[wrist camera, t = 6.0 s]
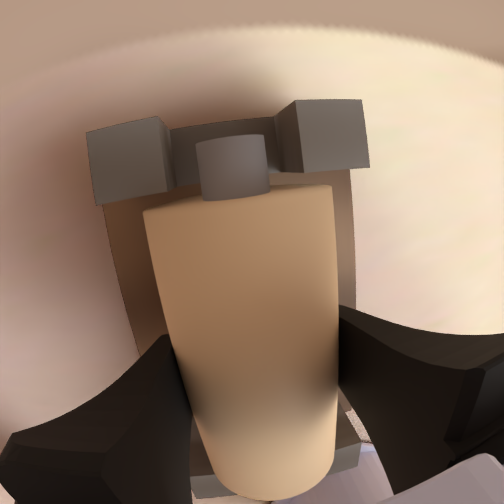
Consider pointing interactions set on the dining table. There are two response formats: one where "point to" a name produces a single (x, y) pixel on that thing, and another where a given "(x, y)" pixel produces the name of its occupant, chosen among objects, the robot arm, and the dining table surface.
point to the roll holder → (188, 184)
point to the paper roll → (253, 317)
